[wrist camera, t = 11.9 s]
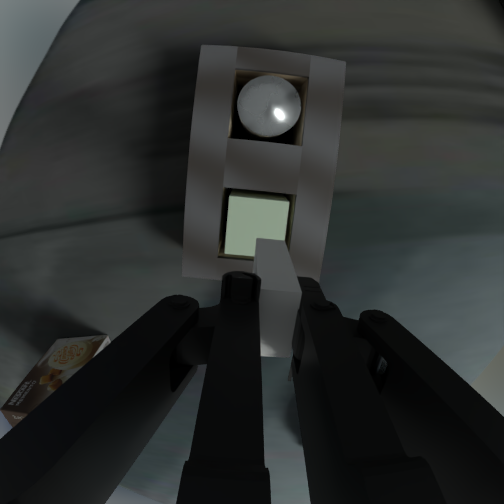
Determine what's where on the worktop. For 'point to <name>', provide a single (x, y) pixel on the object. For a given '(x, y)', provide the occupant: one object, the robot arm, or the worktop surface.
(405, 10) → the worktop surface
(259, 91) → the metal peg
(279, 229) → the sage peg
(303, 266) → the socket block
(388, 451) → the robot arm
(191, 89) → the worktop surface
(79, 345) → the coffee box
